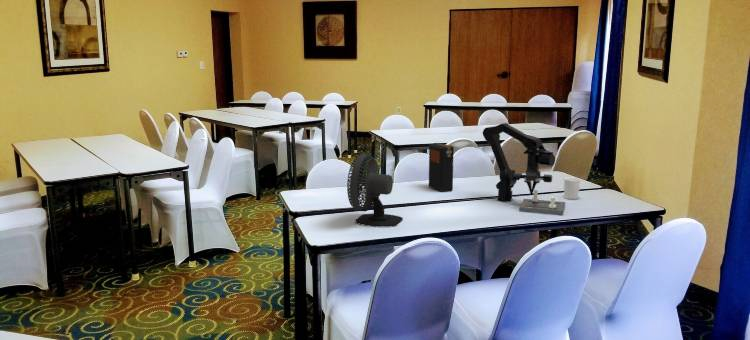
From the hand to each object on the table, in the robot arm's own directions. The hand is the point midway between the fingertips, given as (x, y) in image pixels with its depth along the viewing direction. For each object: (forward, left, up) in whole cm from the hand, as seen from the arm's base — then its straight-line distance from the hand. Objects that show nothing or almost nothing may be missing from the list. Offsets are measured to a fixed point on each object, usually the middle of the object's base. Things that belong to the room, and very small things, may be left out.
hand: (531, 194), depth 299 cm
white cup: (+18, +22, -6) cm, 29 cm away
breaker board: (+6, -5, -6) cm, 10 cm away
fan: (-65, -53, -6) cm, 84 cm away
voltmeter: (-51, +18, -6) cm, 55 cm away
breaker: (+11, -10, -3) cm, 15 cm away
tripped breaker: (+2, 0, -3) cm, 4 cm away
